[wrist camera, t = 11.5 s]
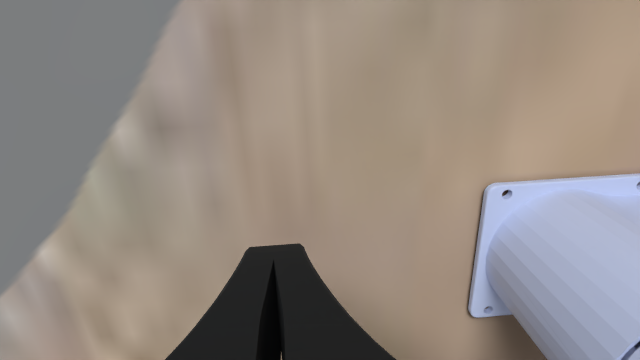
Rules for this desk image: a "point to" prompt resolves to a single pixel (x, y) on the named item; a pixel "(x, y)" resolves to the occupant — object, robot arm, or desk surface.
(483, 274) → the robot arm
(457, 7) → the desk surface
